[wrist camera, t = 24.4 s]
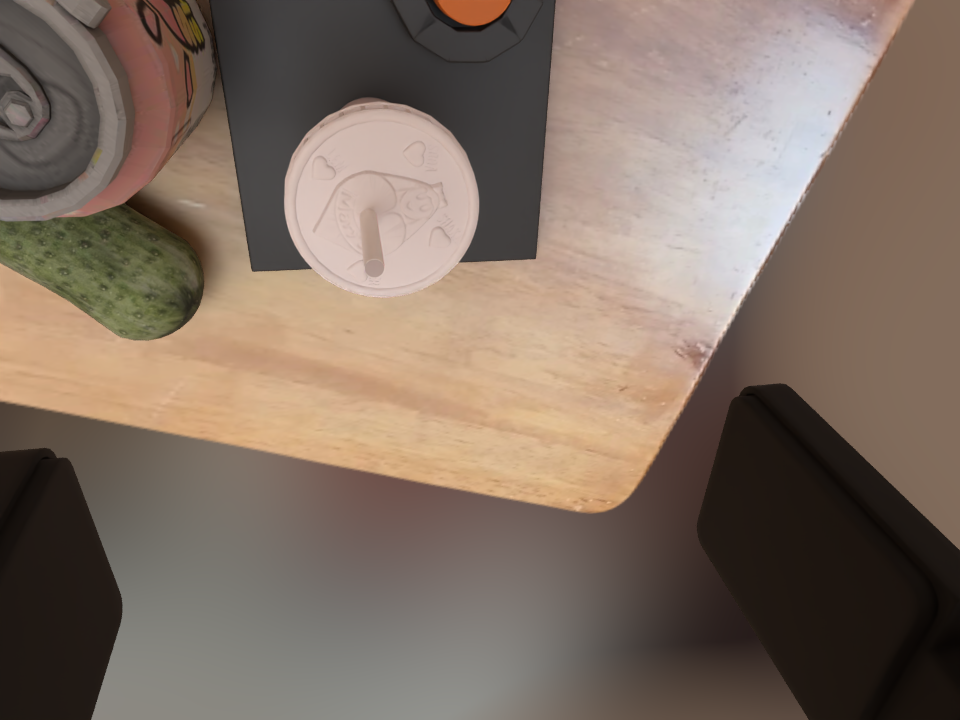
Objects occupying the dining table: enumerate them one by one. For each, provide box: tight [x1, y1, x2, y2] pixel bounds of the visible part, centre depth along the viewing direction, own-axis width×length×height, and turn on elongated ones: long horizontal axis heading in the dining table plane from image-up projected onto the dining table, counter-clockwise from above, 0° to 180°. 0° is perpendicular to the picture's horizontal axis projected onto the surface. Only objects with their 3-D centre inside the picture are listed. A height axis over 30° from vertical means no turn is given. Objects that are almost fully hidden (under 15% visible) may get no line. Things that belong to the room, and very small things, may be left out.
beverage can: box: [0, 0, 217, 221], centre depth 22 cm, size 9×8×12 cm
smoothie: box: [284, 97, 479, 298], centre depth 24 cm, size 6×6×14 cm
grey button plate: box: [209, 0, 556, 272], centre depth 29 cm, size 16×14×3 cm
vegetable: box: [0, 203, 204, 340], centre depth 28 cm, size 14×5×5 cm, turn 46°
